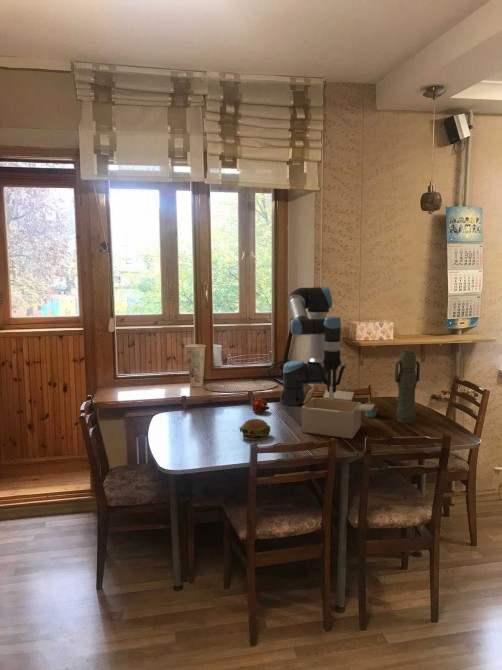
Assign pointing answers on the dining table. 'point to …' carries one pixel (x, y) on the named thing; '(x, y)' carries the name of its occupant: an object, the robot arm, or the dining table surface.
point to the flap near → (324, 410)
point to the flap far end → (365, 407)
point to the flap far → (340, 395)
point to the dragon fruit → (259, 405)
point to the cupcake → (374, 410)
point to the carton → (331, 418)
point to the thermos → (406, 386)
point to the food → (255, 429)
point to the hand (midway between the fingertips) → (331, 398)
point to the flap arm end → (308, 395)
